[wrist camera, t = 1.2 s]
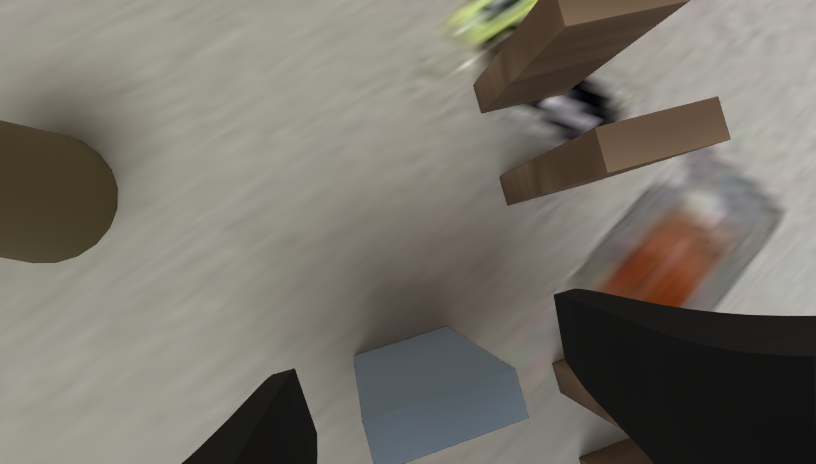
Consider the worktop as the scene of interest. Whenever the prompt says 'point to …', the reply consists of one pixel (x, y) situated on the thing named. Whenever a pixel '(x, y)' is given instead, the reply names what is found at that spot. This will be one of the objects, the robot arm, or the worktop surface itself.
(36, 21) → the worktop surface
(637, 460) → the domino
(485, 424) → the domino
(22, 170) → the cork
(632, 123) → the domino
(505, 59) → the domino
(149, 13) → the worktop surface
